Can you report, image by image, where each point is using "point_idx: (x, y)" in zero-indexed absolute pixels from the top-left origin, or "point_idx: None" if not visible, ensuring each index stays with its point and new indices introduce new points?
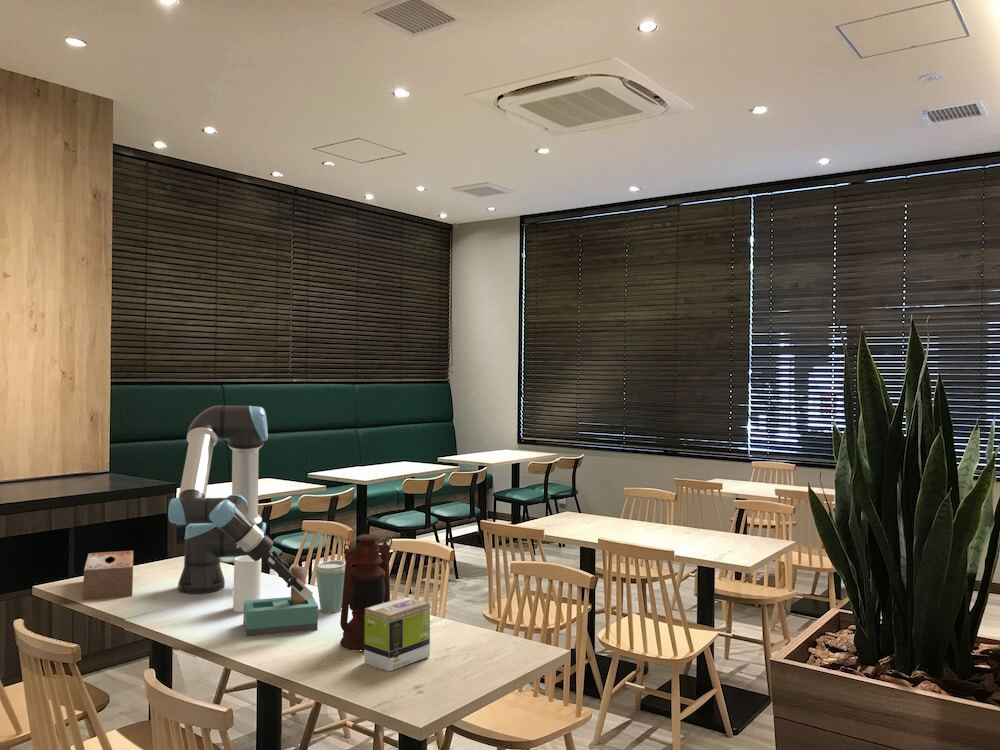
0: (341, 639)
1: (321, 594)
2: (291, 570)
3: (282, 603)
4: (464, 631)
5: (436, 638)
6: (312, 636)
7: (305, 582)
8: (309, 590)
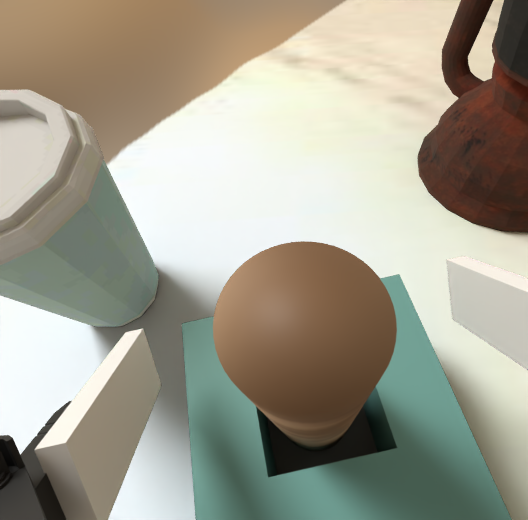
0: (525, 223)
1: (111, 293)
2: (327, 417)
3: (355, 510)
4: (368, 13)
5: (427, 44)
6: (465, 335)
7: (145, 336)
8: (488, 265)
